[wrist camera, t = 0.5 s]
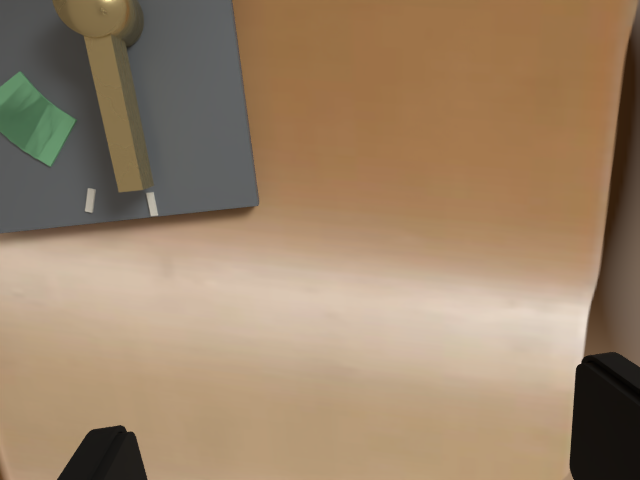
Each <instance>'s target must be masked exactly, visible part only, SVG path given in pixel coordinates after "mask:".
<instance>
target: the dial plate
mask: <svg viewBox="0 0 640 480" xmlns="http://www.w3.org/2000/svg"><path fill="white" fill-rule="evenodd" d="M137 1H138V2H139V4H140V6H141V9H142V12H143V16H144V26H143V31H142V33H141V36H140V37H139V39H138V40H137V41H136V42H135V43H134V44H133V45H131V46H129V47H127V53H128V58H129V63H130V68H131V73H132V78H133V83H134V88H135V93H136V98H137V103H138V108H139V113H140V118H141V123H142V128H143V133H144V138H145V143H146V148H147V153H148V158H149V163H150V168H151V173H152V178H153V183H154V186H152V187H149V188H147V189H144V190H138V191H128V192H119V191H118V187H117V182H116V178H115V173H114V169H113V164H112V160H111V156H110V151H109V147H108V142H107V138H106V133H105V129H104V124H103V120H102V115H101V111H100V106H99V102H98V98H97V93H96V89H95V84H94V80H93V75H92V71H91V66H90V62H89V57H88V53H87V49H86V44H85V40H84V36H83V35H81V34H79V33H77V32H75V31H74V30H72V29H71V28H69V27H68V26H67V25H66V24H65V23H64V22H63V21H62V20H61V19H60V17H59V16H58V14H57V12H56V10H55V8H54V5H53V2H52V0H0V233H8V232H17V231H27V230H36V229H45V228H55V227H64V226H73V225H83V224H92V223H101V222H111V221H120V220H129V219H139V218H148V217H157V216H167V215H176V214H185V213H195V212H204V211H213V210H223V209H232V208H241V207H251V206H258V205H259V197H258V190H257V182H256V175H255V167H254V160H253V152H252V145H251V137H250V130H249V123H248V115H247V108H246V100H245V93H244V85H243V78H242V70H241V63H240V56H239V48H238V41H237V33H236V26H235V18H234V11H233V3H232V0H137Z"/></svg>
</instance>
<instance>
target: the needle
mask: <svg viewBox="0 0 640 480" xmlns="http://www.w3.org/2000/svg"><path fill="white" fill-rule="evenodd" d="M52 2H53V5H54V8H55V10H56V12H57V14H58V16H59V17H60V19H61V20H62V21H63V22H64V23H65V24H66V25H67V26H68V27H69V28H71V29H72V30H74V31H75V32H77V33H79V34H81V35H83V36H84V40H85V44H86V49H87V53H88V57H89V62H90V66H91V71H92V75H93V80H94V84H95V89H96V93H97V98H98V102H99V106H100V111H101V115H102V120H103V124H104V129H105V133H106V138H107V142H108V147H109V151H110V156H111V160H112V164H113V169H114V173H115V178H116V182H117V187H118V191H119V192H128V191H138V190H144V189H147V188H149V187H152V186H154V183H153V178H152V173H151V168H150V163H149V158H148V153H147V148H146V143H145V138H144V133H143V128H142V123H141V118H140V113H139V108H138V103H137V98H136V93H135V88H134V83H133V78H132V73H131V68H130V63H129V58H128V53H127V47H129V46H131V45H133V44H134V43H135V42H136V41H137V40H138V39H139V37H140V36H141V33H142V31H143V26H144V16H143V12H142V9H141V6H140V4H139V2H138V1H137V0H52Z"/></svg>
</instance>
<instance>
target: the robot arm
mask: <svg viewBox="0 0 640 480" xmlns="http://www.w3.org/2000/svg"><path fill="white" fill-rule="evenodd" d="M570 471H571V474H572V477H573V479H574V480H640V367H638V366H637V365H635V364H634V363H632V362H631V361H629V360H628V359H626V358H625V357H623V356H622V355H620V354H618V353H616V352H609V353H602V354H596V355H589V356H586V357H584V358H583V360H582V362H581V364H579V365H578V366H577V368H576V376H575V391H574V406H573V421H572V436H571V451H570ZM57 480H147V476H146V472H145V469H144V465H143V461H142V458H141V454H140V450H139V447H138V443H137V439H136V436H135V434H134V433H133V432H127V431H126V429H125V427H124V426H121V425H120V426H113V427H106V428H99V429H93V430H91V431H90V432H89V433H88V434H87V435H86V436H85V438H84V440H83V441H82V443H81V444H80V446H79V447H78V449H77V450H76V452H75V453H74V455H73V456H72V458H71V459H70V461H69V462H68V464H67V465H66V467H65V468H64V470H63V471H62V473H61V474H60V476H59V478H58V479H57Z"/></svg>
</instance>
